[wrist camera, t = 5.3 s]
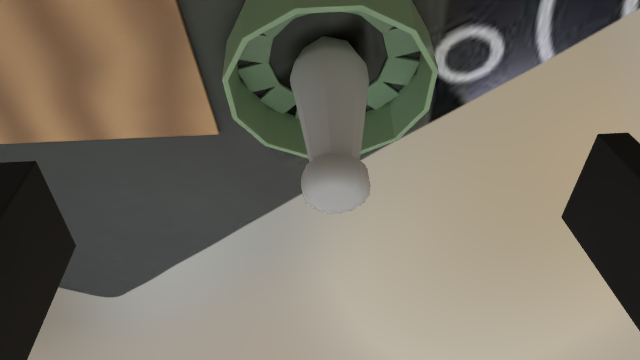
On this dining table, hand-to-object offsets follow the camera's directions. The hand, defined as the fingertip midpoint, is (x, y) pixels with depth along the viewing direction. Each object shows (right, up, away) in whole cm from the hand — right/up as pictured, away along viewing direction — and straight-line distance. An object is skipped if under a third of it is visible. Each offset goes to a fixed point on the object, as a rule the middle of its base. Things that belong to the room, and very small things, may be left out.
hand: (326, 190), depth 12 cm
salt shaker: (0, +10, +25) cm, 27 cm away
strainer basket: (0, +10, +25) cm, 26 cm away
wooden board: (-20, +9, +25) cm, 33 cm away
